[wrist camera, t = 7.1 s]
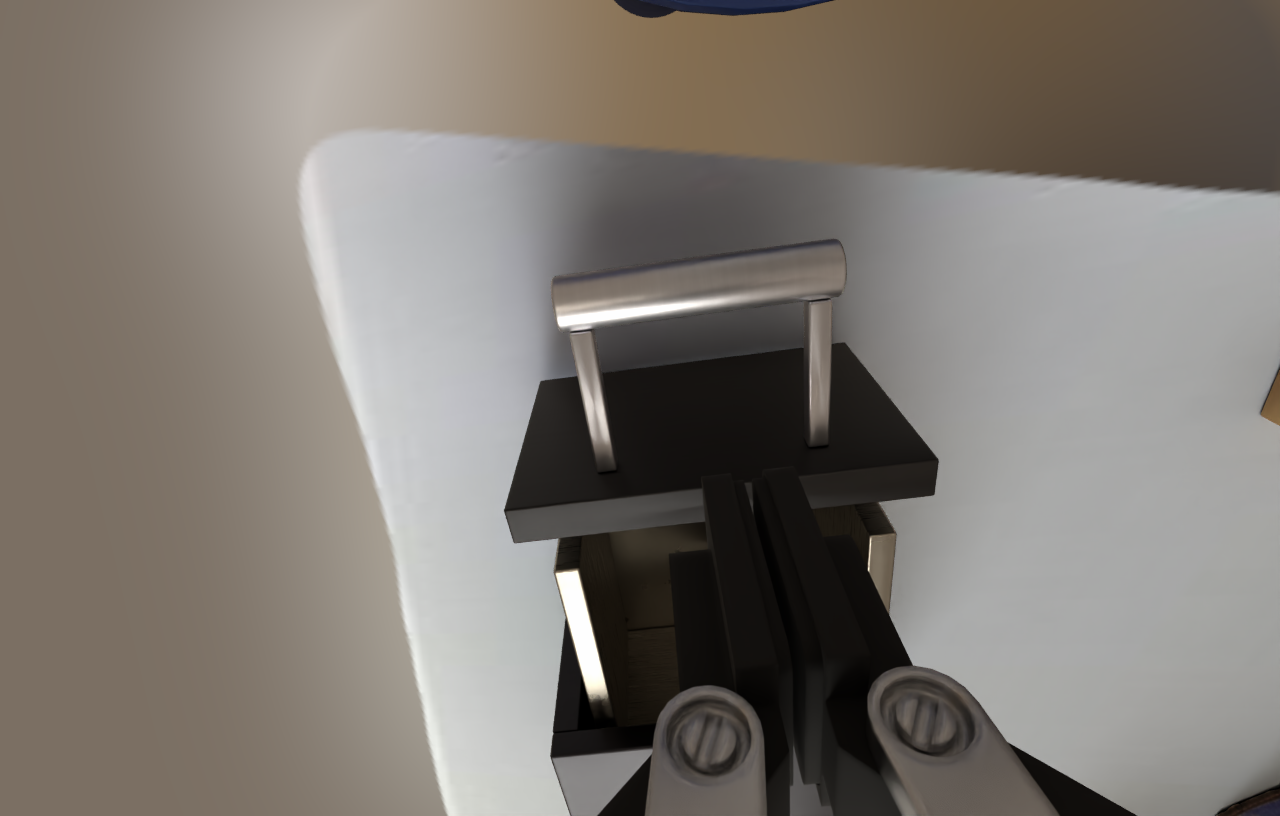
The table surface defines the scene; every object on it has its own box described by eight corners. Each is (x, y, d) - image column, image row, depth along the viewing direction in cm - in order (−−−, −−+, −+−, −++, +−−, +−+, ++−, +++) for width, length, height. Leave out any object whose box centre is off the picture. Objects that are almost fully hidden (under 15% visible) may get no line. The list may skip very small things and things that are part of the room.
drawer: (504, 230, 21) (442, 311, 14) (850, 182, 20) (968, 240, 13) (598, 626, 30) (589, 793, 23) (836, 600, 29) (900, 764, 22)
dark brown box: (572, 553, 29) (549, 757, 20) (845, 522, 28) (940, 719, 20) (618, 741, 36) (615, 951, 27) (836, 720, 35) (903, 928, 27)
